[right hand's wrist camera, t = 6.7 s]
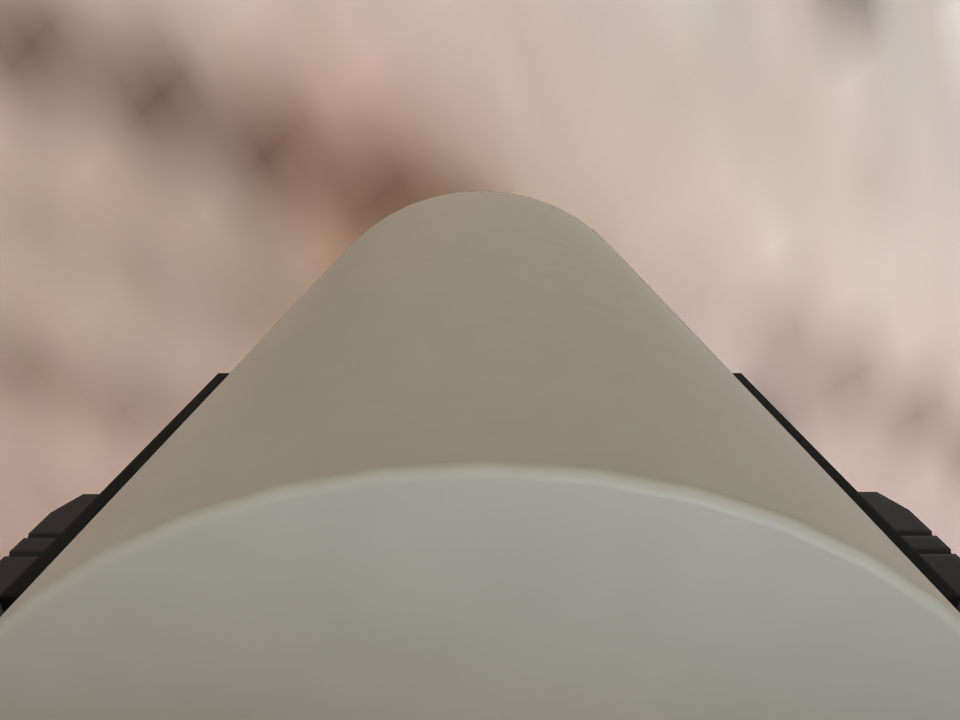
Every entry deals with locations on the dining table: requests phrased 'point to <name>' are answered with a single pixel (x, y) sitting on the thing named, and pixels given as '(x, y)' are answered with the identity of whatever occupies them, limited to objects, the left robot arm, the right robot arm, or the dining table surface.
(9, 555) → the right robot arm
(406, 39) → the dining table surface
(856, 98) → the dining table surface
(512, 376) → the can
